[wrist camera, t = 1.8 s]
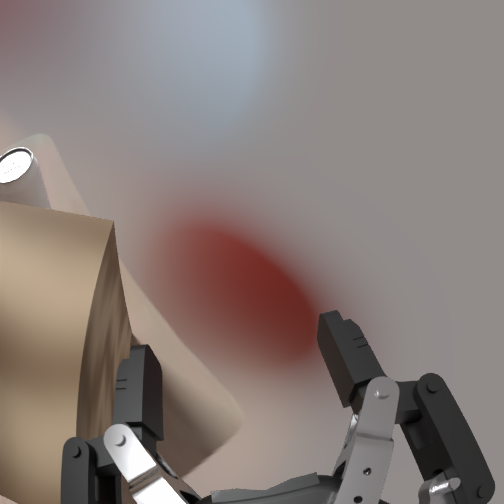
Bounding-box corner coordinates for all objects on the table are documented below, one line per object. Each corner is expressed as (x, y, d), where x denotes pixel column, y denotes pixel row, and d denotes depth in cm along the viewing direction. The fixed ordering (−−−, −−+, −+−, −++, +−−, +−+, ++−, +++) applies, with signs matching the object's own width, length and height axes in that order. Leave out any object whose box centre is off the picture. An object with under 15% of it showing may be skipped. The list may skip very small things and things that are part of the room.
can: (58, 235, 32) (38, 172, 22) (19, 251, 29) (-12, 194, 19) (50, 201, 34) (35, 138, 24) (14, 215, 30) (-10, 156, 21)
